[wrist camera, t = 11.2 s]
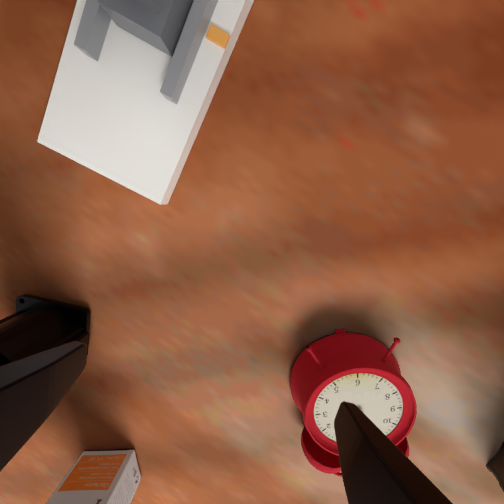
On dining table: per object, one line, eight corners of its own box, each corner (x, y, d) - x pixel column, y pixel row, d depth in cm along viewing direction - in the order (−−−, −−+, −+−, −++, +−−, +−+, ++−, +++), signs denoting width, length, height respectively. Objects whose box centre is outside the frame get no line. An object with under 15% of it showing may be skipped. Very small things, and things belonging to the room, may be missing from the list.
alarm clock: (423, 336, 18) (450, 534, 18) (382, 314, 24) (402, 460, 24) (288, 350, 18) (312, 542, 18) (282, 325, 25) (300, 468, 24)
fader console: (167, 204, 20) (153, 204, 17) (54, 146, 19) (21, 137, 16) (297, -103, 15) (306, -167, 13) (156, -195, 14) (133, -283, 12)
